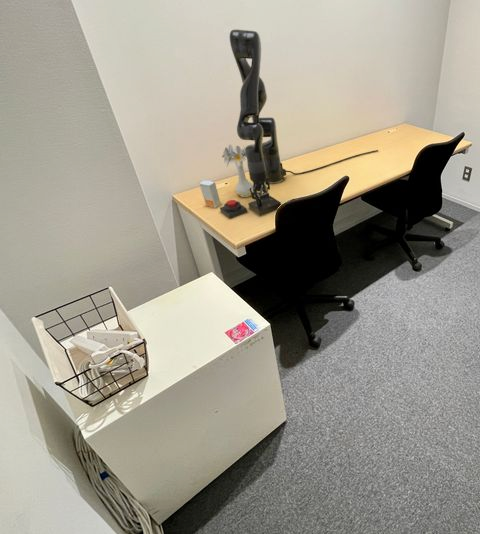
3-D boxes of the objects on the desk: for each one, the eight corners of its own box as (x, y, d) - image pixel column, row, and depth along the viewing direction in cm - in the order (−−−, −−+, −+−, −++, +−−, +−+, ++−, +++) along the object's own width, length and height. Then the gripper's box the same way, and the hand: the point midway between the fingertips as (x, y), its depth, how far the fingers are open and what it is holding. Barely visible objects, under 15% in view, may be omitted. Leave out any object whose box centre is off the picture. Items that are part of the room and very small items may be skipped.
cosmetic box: (205, 206, 161) (198, 183, 153) (211, 202, 164) (204, 179, 156) (215, 208, 159) (209, 185, 152) (221, 204, 162) (215, 181, 155)
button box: (237, 205, 161) (236, 198, 159) (247, 212, 157) (245, 204, 154) (220, 211, 157) (218, 204, 154) (230, 218, 152) (227, 211, 149)
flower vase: (246, 185, 179) (236, 138, 164) (265, 196, 169) (256, 147, 154) (224, 192, 172) (211, 144, 156) (242, 204, 162) (231, 154, 146)
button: (234, 202, 157) (233, 198, 156) (238, 205, 154) (238, 202, 153) (225, 205, 154) (224, 201, 153) (230, 208, 152) (229, 205, 151)
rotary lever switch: (270, 200, 166) (269, 195, 164) (281, 207, 160) (280, 202, 158) (249, 208, 159) (248, 202, 157) (260, 216, 154) (259, 210, 152)
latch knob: (268, 200, 160) (266, 191, 157) (270, 201, 159) (268, 192, 156) (258, 203, 157) (256, 194, 154) (260, 205, 156) (258, 196, 153)
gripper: (256, 176, 141) (262, 211, 152) (272, 164, 152) (277, 197, 162) (241, 174, 143) (248, 208, 153) (257, 162, 153) (263, 195, 164)
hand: (263, 202), depth 158 cm, fingers open, 6 cm apart
